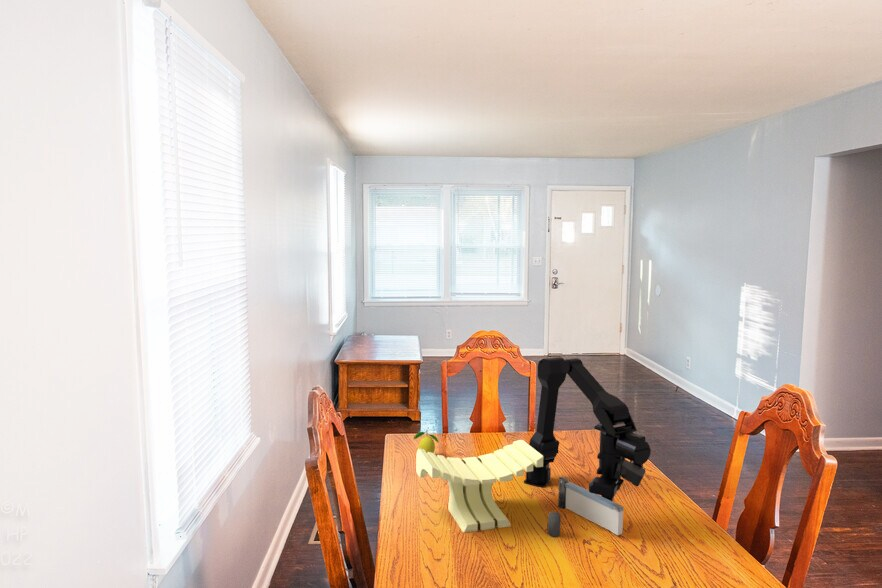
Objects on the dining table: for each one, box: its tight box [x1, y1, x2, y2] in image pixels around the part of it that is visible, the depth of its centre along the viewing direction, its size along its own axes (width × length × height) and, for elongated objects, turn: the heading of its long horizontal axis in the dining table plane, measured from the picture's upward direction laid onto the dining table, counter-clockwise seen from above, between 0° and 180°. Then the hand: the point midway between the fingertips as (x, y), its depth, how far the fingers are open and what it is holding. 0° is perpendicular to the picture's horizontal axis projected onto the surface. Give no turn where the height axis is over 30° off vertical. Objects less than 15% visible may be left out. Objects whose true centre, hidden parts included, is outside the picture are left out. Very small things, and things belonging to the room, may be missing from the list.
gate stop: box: [547, 511, 562, 538], centre depth 142 cm, size 3×3×5 cm
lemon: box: [413, 430, 439, 454], centre depth 192 cm, size 7×6×10 cm
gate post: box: [557, 476, 569, 510], centre depth 157 cm, size 2×2×8 cm
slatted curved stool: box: [415, 439, 543, 533], centre depth 151 cm, size 30×16×18 cm, turn 107°
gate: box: [565, 481, 625, 536], centre depth 149 cm, size 18×2×7 cm, turn 35°
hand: (608, 507), depth 149 cm, fingers closed
